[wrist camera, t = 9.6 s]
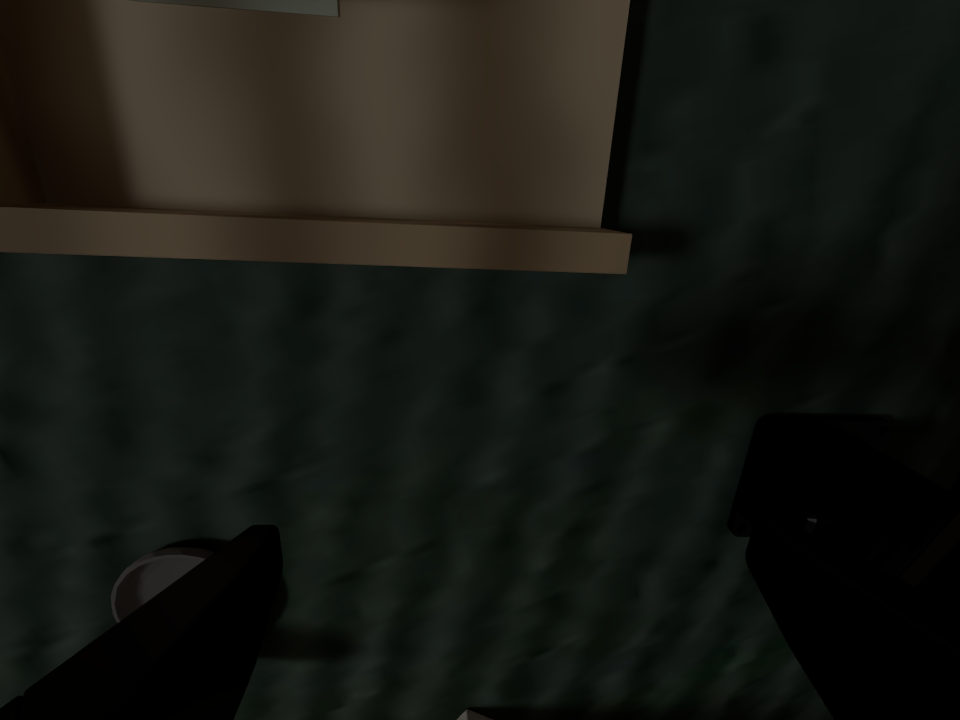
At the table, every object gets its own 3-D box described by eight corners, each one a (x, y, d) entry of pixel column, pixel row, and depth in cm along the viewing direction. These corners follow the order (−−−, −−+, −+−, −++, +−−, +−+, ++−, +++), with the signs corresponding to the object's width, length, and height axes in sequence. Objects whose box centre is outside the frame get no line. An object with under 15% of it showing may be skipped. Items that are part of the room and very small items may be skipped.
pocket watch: (239, 526, 21) (70, 796, 11) (298, 651, 24) (201, 949, 14) (66, 560, 21) (-246, 859, 11) (146, 682, 24) (-51, 999, 14)
